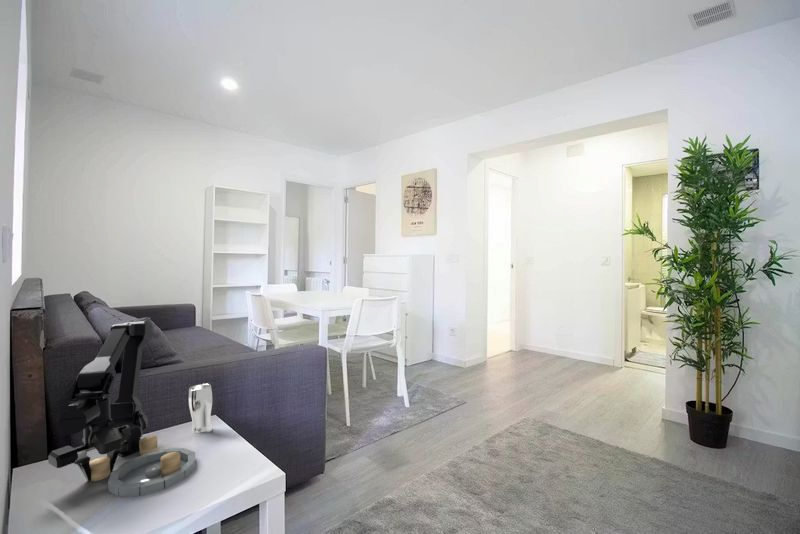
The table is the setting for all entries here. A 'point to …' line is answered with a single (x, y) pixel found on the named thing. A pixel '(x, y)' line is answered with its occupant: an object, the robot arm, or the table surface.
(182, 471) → the tray
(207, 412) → the beer glass
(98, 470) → the bead
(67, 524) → the table surface
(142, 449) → the bead
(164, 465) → the tan short rounded cylinder
